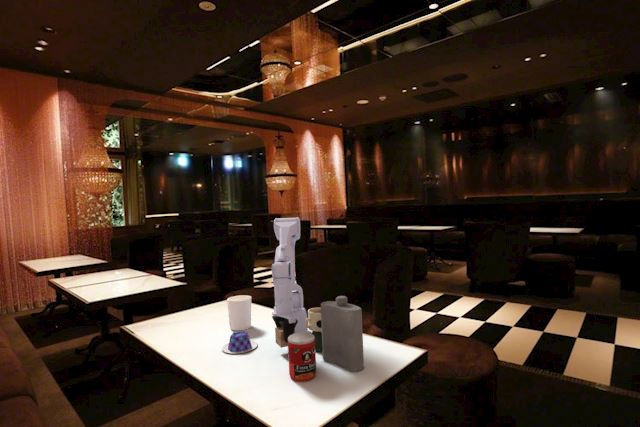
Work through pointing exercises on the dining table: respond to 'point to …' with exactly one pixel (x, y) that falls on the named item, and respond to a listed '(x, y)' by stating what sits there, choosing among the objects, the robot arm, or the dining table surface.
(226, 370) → the dining table surface
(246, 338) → the pudding
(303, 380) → the canned food
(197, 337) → the dining table surface
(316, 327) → the character mug
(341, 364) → the flask
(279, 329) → the walnut block
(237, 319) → the candle holder
